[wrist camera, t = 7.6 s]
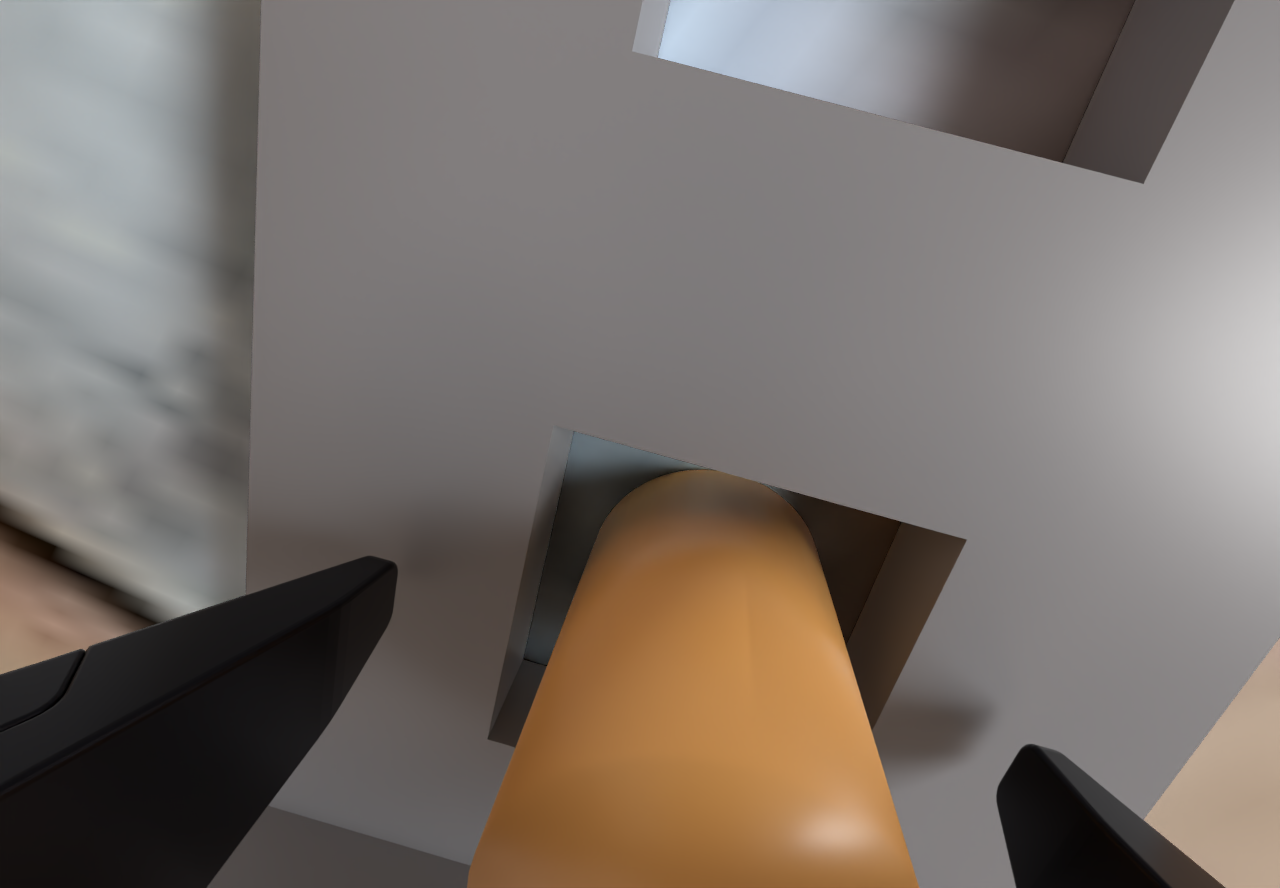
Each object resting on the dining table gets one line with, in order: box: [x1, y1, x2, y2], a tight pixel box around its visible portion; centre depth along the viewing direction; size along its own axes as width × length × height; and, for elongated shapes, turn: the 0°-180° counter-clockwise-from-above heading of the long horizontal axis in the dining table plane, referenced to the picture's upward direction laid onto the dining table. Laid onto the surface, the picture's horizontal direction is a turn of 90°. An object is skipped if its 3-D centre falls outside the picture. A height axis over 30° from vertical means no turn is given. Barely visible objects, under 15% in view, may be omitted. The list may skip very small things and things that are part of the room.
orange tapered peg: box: [467, 469, 919, 888], centre depth 8 cm, size 4×4×6 cm
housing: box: [207, 0, 1280, 888], centre depth 7 cm, size 24×14×4 cm, turn 166°
